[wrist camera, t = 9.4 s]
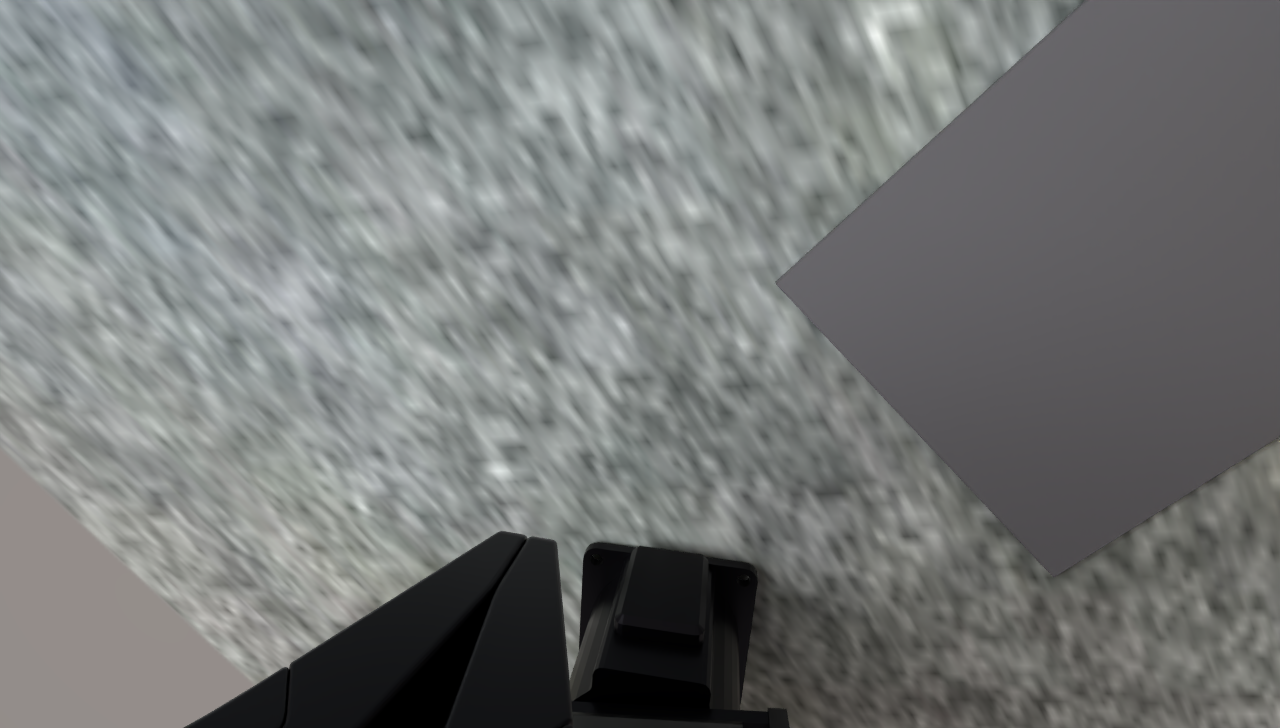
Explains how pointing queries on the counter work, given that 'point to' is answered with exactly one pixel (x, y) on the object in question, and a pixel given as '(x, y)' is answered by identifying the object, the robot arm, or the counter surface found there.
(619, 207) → the counter surface
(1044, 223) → the mat
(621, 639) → the robot arm
